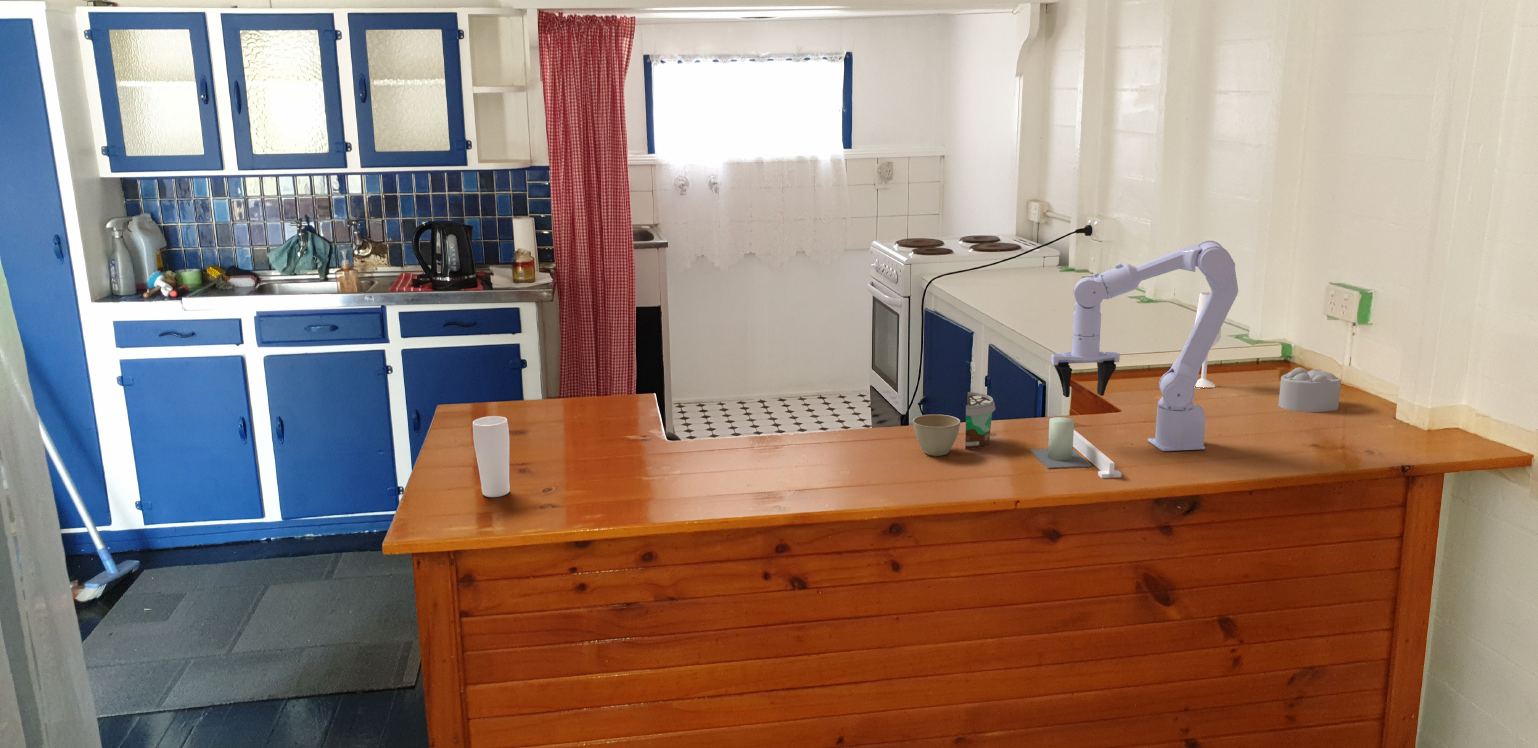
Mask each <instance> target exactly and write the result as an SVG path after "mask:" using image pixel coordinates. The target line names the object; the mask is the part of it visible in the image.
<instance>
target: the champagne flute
mask: <svg viewBox="0 0 1538 748" xmlns="http://www.w3.org/2000/svg"><path fill="white" fill-rule="evenodd" d="M1210 292H1211V291H1204V292H1200V293H1199V298H1198V301H1197V307H1196V314H1195V319H1194V324H1195V323H1196V321H1197V319H1198V317H1199V315H1200V313H1201V311H1202V309H1203V307H1204V305H1205V303H1206V301H1207V299H1208V296H1209V294H1210ZM1221 338H1222V327H1221V328H1220V330H1219V332H1218V334H1217V336H1216V338H1215V340H1214V342H1213V344H1212V346H1211V348H1213V347H1214V346H1215V345H1216V344H1218V343H1219V341H1220V340H1221ZM1208 356H1209V353H1208V354H1207V356H1206V358H1205V360H1204V362H1203V364H1202V366H1201V375H1200V378H1198V381H1197V383H1196V385H1195V386H1196V387H1203V388H1204V387H1215V385H1216V384H1214V383H1213V382H1212V381H1210V380H1208V379H1207V370H1208V359H1209V358H1208Z"/></svg>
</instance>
